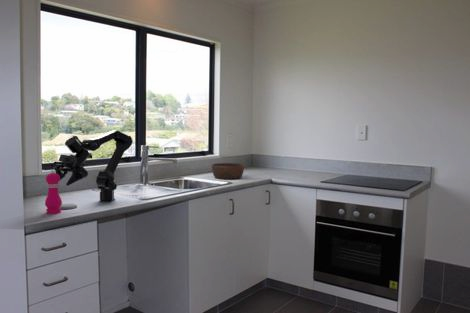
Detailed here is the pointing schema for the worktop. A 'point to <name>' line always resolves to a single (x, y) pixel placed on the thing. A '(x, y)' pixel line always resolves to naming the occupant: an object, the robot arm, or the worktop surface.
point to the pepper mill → (53, 194)
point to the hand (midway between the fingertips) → (60, 184)
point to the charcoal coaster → (67, 206)
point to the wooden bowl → (227, 170)
